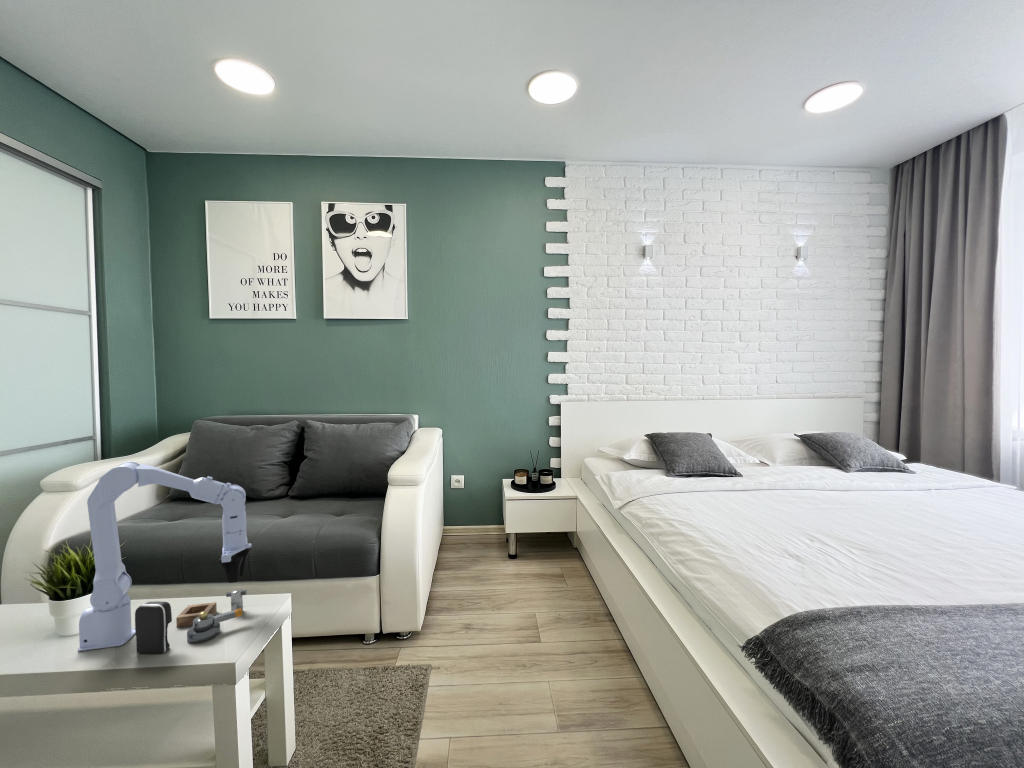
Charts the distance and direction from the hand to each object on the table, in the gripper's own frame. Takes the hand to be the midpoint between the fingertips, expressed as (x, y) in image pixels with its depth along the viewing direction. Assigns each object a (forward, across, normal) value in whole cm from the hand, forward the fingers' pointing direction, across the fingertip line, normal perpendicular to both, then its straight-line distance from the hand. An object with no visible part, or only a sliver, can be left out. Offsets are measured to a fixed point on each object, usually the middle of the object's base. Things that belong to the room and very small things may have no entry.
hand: (236, 578), depth 131 cm
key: (+9, 0, 0) cm, 9 cm away
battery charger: (+10, -15, +13) cm, 22 cm away
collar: (+7, -10, +1) cm, 12 cm away
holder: (+9, -1, +10) cm, 13 cm away
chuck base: (+9, -12, +4) cm, 15 cm away
